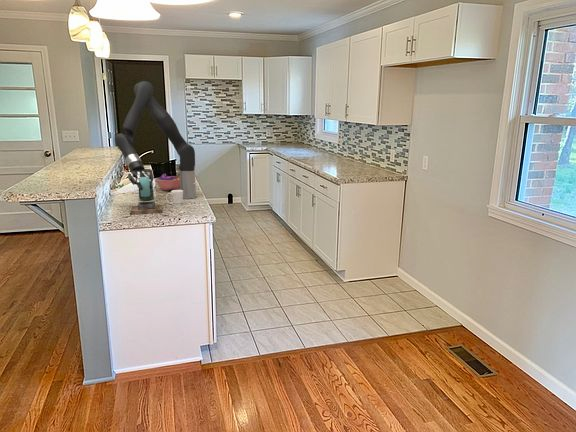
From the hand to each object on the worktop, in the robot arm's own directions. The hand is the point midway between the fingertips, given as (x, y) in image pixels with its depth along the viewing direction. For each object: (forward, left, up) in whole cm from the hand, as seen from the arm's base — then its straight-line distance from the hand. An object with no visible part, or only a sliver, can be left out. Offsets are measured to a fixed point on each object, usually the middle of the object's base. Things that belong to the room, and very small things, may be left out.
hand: (146, 188), depth 235 cm
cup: (-14, -15, -13) cm, 24 cm away
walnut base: (+1, -2, -13) cm, 13 cm away
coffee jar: (+3, -33, -13) cm, 35 cm away
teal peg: (+1, -2, -4) cm, 5 cm away
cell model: (-11, -59, -13) cm, 61 cm away
